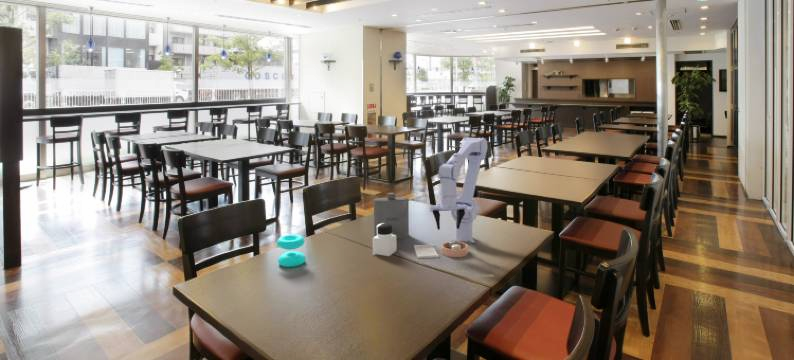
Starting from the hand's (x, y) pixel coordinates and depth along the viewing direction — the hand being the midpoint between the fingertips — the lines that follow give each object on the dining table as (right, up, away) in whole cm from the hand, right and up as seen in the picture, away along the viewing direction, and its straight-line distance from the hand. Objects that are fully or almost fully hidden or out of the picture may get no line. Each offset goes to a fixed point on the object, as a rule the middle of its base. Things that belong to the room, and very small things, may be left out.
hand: (448, 228), depth 181 cm
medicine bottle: (-25, -10, 0) cm, 27 cm away
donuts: (-59, -12, -9) cm, 61 cm away
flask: (-22, -6, +18) cm, 29 cm away
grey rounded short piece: (+2, -9, +1) cm, 9 cm away
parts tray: (-9, -10, -1) cm, 13 cm away
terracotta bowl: (+2, -10, -1) cm, 10 cm away
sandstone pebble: (+3, -10, -4) cm, 11 cm away
